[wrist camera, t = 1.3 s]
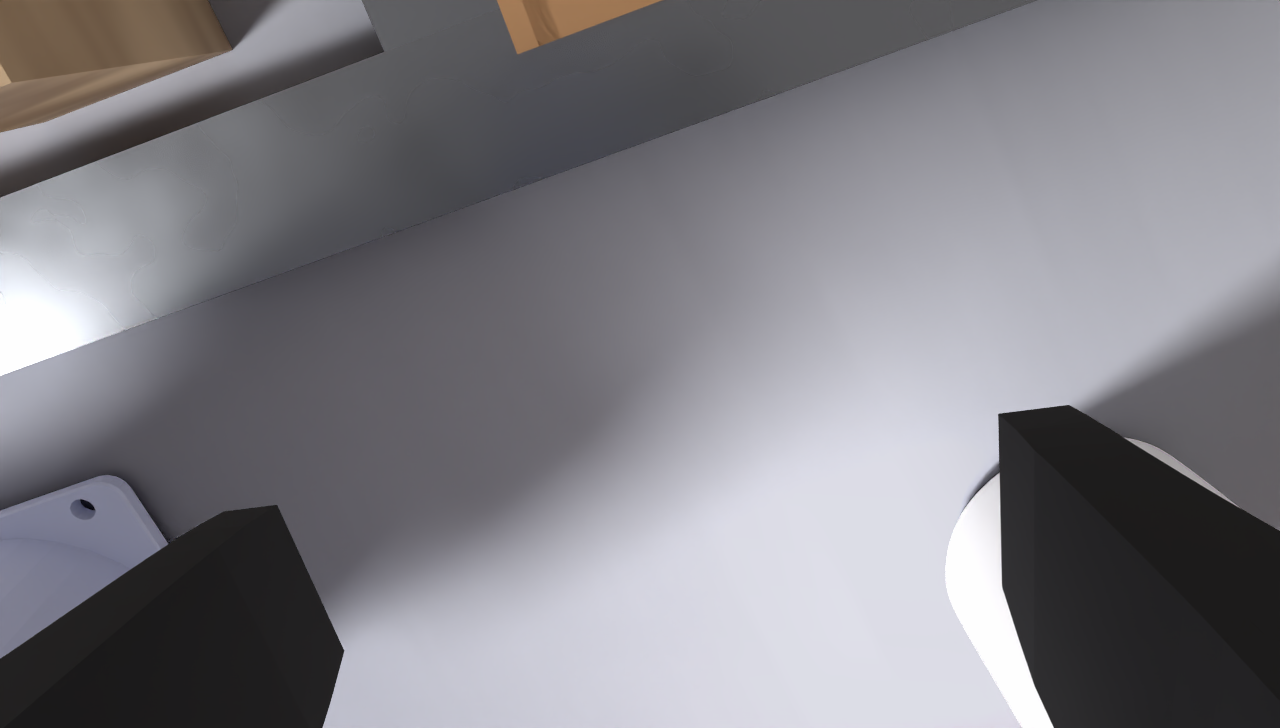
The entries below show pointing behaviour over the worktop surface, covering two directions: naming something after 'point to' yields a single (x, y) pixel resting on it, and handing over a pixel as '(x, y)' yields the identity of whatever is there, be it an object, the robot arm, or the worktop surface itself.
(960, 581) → the can
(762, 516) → the worktop surface
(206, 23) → the oak peg
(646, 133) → the rail plate
